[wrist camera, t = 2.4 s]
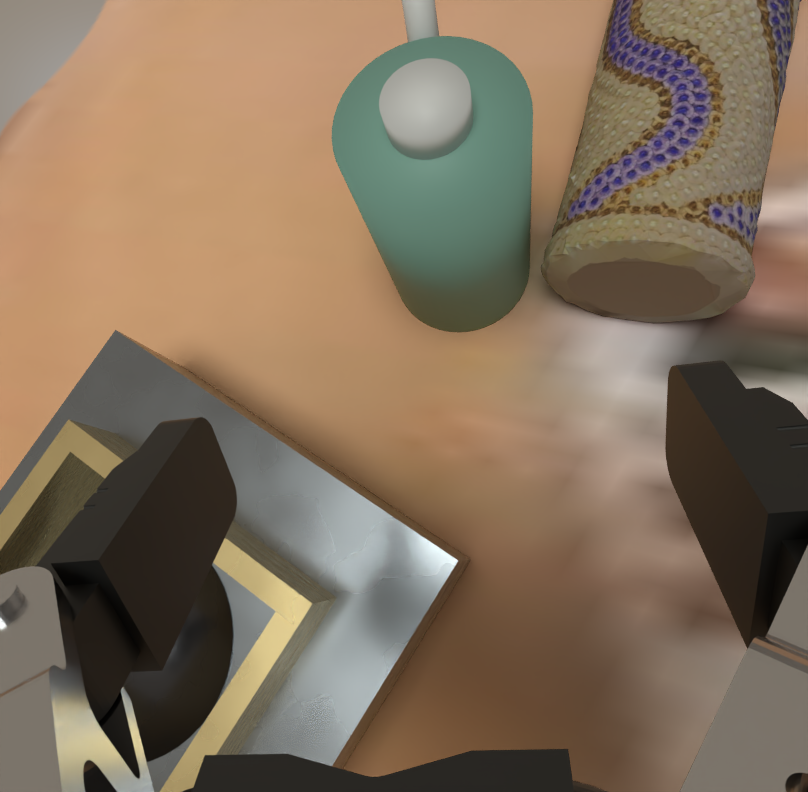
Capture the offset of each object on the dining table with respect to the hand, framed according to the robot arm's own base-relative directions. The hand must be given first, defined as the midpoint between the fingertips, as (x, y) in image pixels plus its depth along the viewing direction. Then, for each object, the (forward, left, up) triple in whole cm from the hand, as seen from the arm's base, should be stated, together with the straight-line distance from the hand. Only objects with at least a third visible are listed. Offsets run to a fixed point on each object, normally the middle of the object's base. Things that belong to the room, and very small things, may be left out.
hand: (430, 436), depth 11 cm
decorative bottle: (-21, -2, -15) cm, 26 cm away
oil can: (-9, -7, -15) cm, 19 cm away
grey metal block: (+13, -7, -15) cm, 21 cm away
